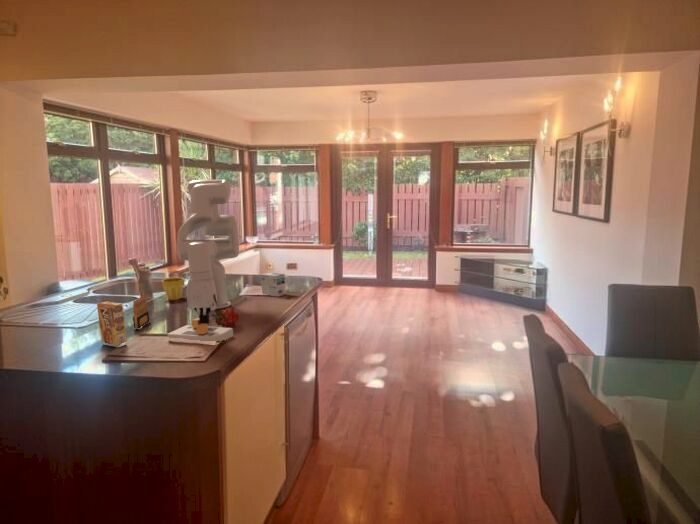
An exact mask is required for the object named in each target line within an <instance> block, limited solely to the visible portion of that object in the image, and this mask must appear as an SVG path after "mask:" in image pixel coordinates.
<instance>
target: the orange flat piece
mask: <svg viewBox="0 0 700 524" xmlns="http://www.w3.org/2000/svg"><path fill="white" fill-rule="evenodd" d="M132 310H133V311H132V312H133V313H132V314H133V318H132V319H133V329H134V328H140V327H141V326H143V325H144V324H146V323H148V322H149V321H150V314H149V310H148V304H147V298H146V296H145V295H144V294H143V295H141V296H140V297H138V298H137V299H135V300H133V309H132Z"/></svg>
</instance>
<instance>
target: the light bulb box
mask: <svg viewBox="0 0 700 524" xmlns="http://www.w3.org/2000/svg"><path fill="white" fill-rule="evenodd" d="M260 279H261V291H262V293H263V294H267V295H266V296H269V295H270V297H281V296H284V295H286V294H287V286H286V274H285V273H279V272H265V273H261V274H260ZM262 293H261V294H262ZM283 294H284V295H283Z"/></svg>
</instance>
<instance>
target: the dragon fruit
mask: <svg viewBox="0 0 700 524" xmlns="http://www.w3.org/2000/svg"><path fill="white" fill-rule="evenodd" d="M215 314H216V315H215V318H214V319H215V324H216V325H217V326H218V327H223V328H234V327H236V324H237V323H238V321H239V318H240V315H239V313H238V311H237V310H236V309H233V307H230V306H228V307H225V308H222V309H221V310H219V311H217V312H216V313H215Z"/></svg>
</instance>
